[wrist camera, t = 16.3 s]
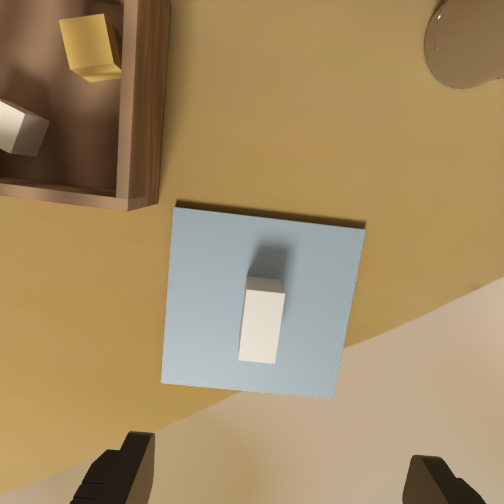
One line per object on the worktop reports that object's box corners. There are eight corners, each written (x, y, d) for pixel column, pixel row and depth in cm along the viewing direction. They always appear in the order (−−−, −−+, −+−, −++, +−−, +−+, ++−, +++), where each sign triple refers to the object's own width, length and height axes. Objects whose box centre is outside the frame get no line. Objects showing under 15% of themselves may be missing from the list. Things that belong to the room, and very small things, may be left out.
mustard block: (120, 33, 33) (103, 13, 29) (128, 76, 34) (113, 63, 30) (80, 39, 33) (58, 19, 29) (90, 82, 34) (70, 69, 30)
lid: (360, 228, 39) (383, 236, 33) (330, 391, 44) (345, 427, 37) (176, 206, 38) (162, 210, 32) (163, 375, 43) (149, 409, 36)
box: (171, 6, 33) (141, -67, 24) (157, 203, 37) (127, 211, 28) (-34, -26, 32) (-154, -117, 22) (-25, 180, 36) (-123, 180, 27)
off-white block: (49, 121, 34) (25, 113, 30) (36, 156, 35) (10, 153, 31) (12, 102, 34) (-18, 92, 30) (-1, 138, 35) (-32, 133, 31)
